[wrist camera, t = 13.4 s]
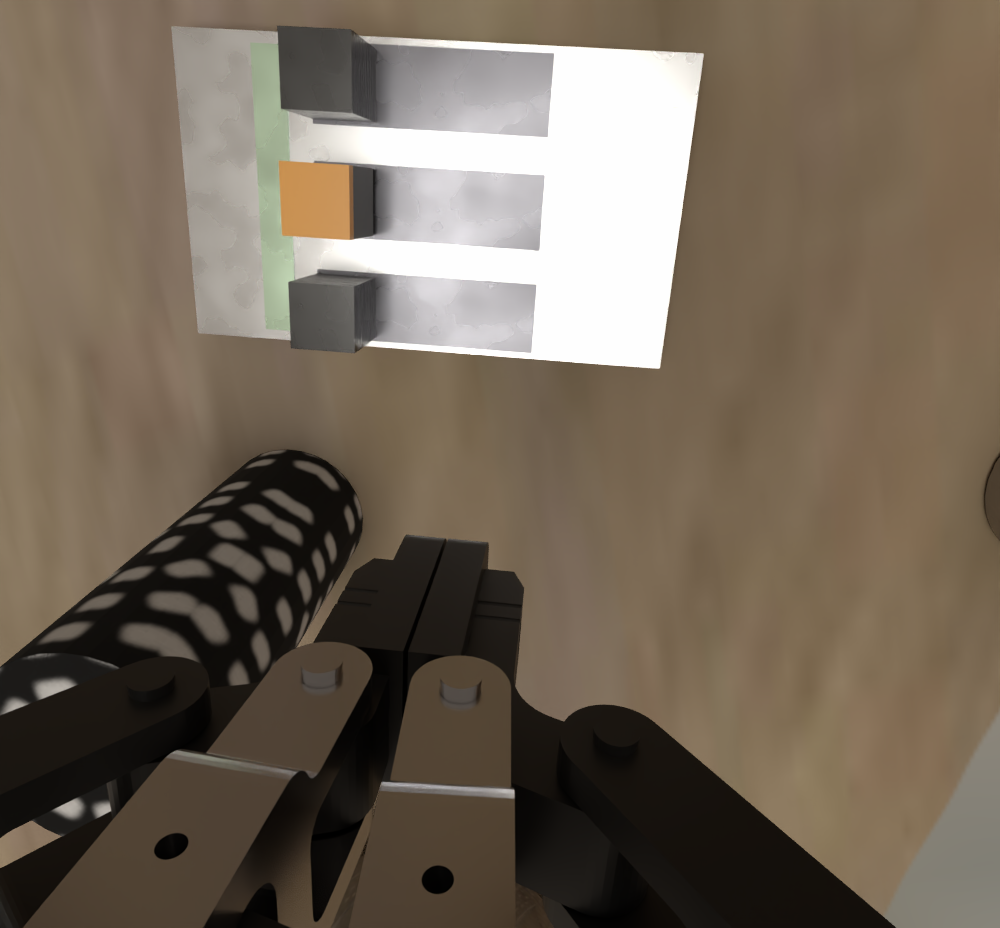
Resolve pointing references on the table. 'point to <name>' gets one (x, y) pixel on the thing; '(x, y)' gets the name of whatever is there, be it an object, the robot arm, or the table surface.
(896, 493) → the table surface
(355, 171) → the block
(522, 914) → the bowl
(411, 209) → the panel
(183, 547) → the spotted tube
